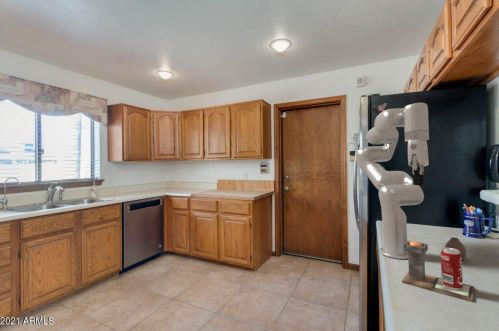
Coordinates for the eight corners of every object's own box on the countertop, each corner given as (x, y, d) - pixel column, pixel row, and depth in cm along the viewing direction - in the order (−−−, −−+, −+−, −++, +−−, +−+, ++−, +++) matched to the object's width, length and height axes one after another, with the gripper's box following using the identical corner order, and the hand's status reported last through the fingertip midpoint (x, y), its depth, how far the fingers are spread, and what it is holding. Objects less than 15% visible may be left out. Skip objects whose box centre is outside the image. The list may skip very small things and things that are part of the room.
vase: (441, 256, 105) (440, 236, 105) (457, 255, 105) (456, 235, 105) (453, 262, 98) (453, 241, 98) (471, 261, 98) (470, 240, 98)
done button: (408, 248, 85) (408, 243, 85) (411, 246, 87) (410, 240, 87) (421, 251, 82) (420, 245, 82) (423, 248, 85) (422, 242, 85)
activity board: (402, 282, 84) (400, 245, 84) (409, 272, 91) (407, 238, 91) (472, 302, 71) (470, 258, 71) (474, 288, 78) (472, 249, 78)
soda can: (452, 282, 81) (450, 246, 81) (467, 289, 76) (465, 252, 76) (437, 283, 80) (436, 247, 81) (452, 291, 75) (450, 253, 75)
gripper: (424, 134, 83) (426, 187, 83) (432, 136, 93) (434, 183, 93) (399, 136, 88) (401, 186, 88) (409, 138, 99) (411, 183, 99)
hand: (418, 185), depth 91 cm, fingers closed
